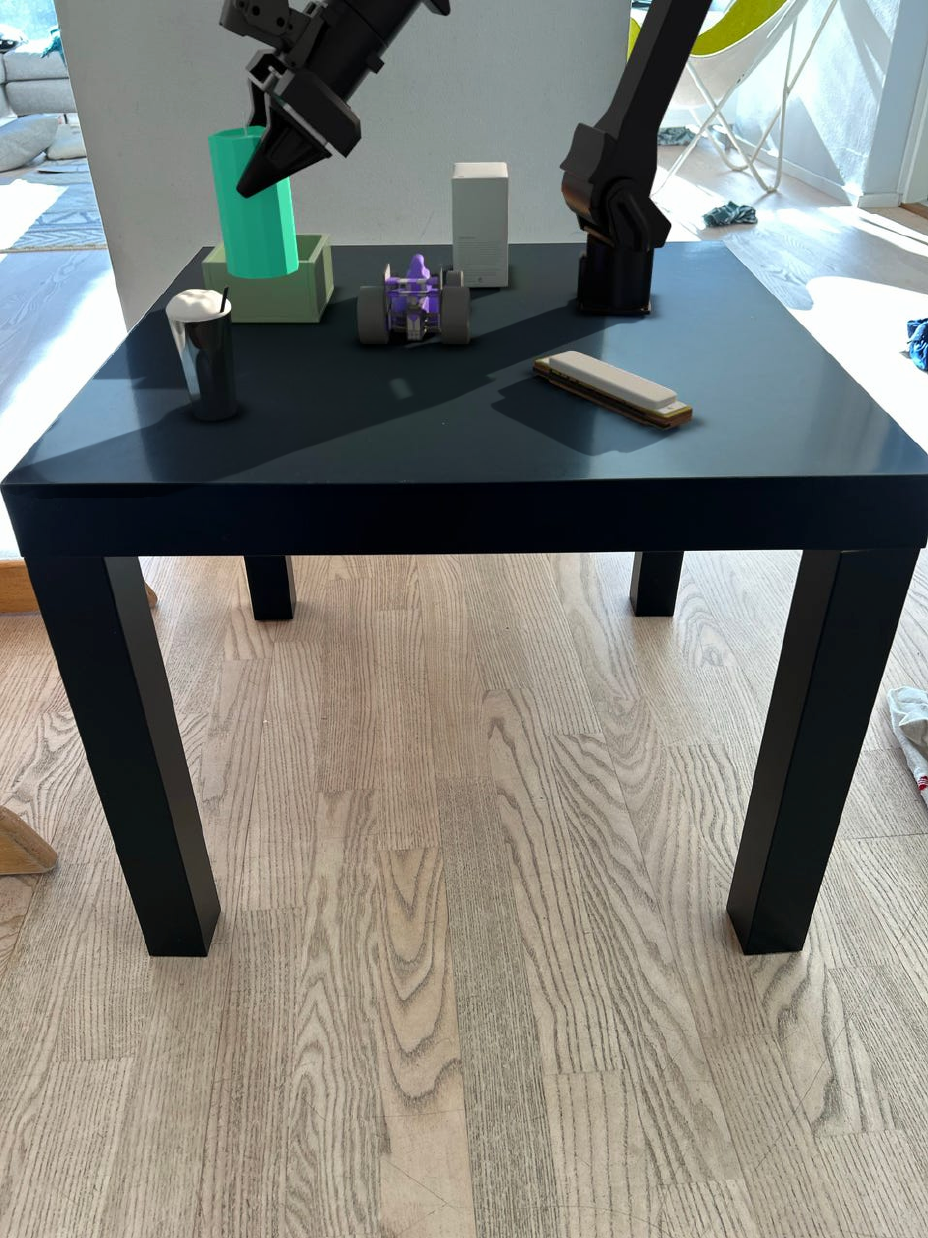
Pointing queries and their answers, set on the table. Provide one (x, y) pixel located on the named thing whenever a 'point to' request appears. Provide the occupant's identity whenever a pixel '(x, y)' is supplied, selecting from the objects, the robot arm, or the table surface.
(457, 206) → the small box
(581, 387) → the harmonica
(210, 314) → the milkshake
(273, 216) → the candle
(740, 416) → the table surface
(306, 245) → the open green box
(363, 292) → the toy race car
